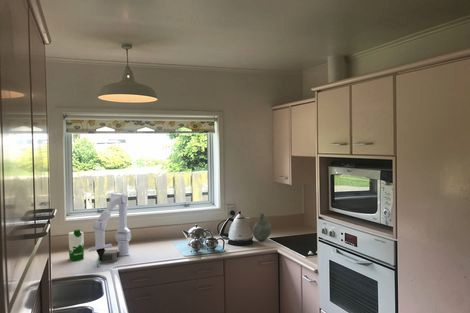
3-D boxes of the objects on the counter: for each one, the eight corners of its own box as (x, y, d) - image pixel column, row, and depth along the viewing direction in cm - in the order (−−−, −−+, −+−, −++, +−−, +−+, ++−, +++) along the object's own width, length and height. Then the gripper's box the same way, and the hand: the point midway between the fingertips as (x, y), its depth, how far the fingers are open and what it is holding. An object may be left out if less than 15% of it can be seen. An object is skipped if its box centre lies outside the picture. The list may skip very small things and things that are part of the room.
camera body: (102, 258, 254) (102, 250, 254) (120, 257, 256) (120, 249, 256) (100, 262, 246) (100, 253, 246) (118, 261, 248) (118, 252, 248)
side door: (100, 262, 246) (99, 254, 246) (99, 267, 237) (98, 258, 237) (98, 262, 246) (98, 254, 246) (97, 267, 237) (97, 259, 236)
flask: (249, 239, 304) (249, 212, 303) (269, 238, 309) (269, 211, 308) (254, 243, 293) (254, 215, 292) (274, 241, 297) (274, 214, 297)
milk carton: (72, 262, 247) (71, 231, 247) (67, 258, 254) (66, 229, 253) (85, 259, 253) (85, 229, 252) (80, 256, 260) (80, 227, 259)
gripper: (108, 236, 247) (108, 256, 248) (86, 240, 238) (86, 261, 238) (113, 238, 242) (113, 258, 243) (90, 242, 232) (91, 264, 233)
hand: (100, 260), depth 240 cm, fingers closed, pressing on side door
